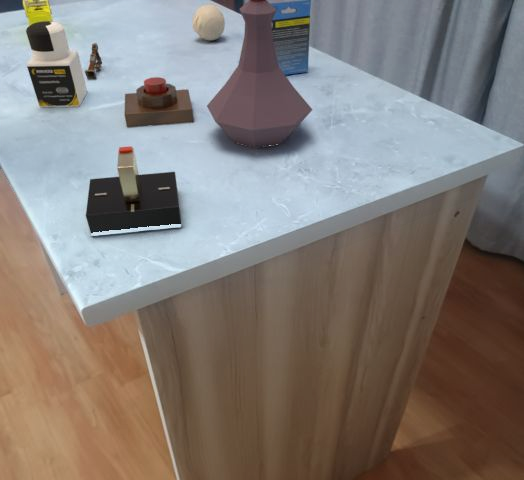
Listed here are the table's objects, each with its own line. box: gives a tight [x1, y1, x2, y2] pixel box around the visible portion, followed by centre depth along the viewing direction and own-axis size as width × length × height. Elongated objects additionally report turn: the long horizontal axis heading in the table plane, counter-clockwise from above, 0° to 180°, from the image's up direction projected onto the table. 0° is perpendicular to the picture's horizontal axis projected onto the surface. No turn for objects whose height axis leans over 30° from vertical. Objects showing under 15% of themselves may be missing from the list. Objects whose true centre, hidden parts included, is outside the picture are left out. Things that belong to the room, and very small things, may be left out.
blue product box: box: [270, 0, 312, 76], centre depth 98 cm, size 9×4×12 cm, turn 110°
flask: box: [206, 0, 313, 149], centre depth 75 cm, size 16×16×20 cm
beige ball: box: [191, 4, 226, 41], centre depth 115 cm, size 7×7×7 cm
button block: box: [124, 83, 195, 128], centre depth 87 cm, size 11×9×4 cm
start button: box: [143, 76, 167, 95], centre depth 85 cm, size 4×4×2 cm
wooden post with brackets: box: [84, 42, 103, 80], centre depth 102 cm, size 2×8×4 cm, turn 179°
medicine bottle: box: [25, 21, 88, 109], centre depth 89 cm, size 7×7×12 cm
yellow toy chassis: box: [21, 0, 54, 27], centre depth 119 cm, size 16×6×8 cm, turn 19°
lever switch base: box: [85, 171, 182, 234], centre depth 65 cm, size 11×9×3 cm
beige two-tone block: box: [116, 146, 140, 203], centre depth 63 cm, size 5×2×5 cm, turn 9°
